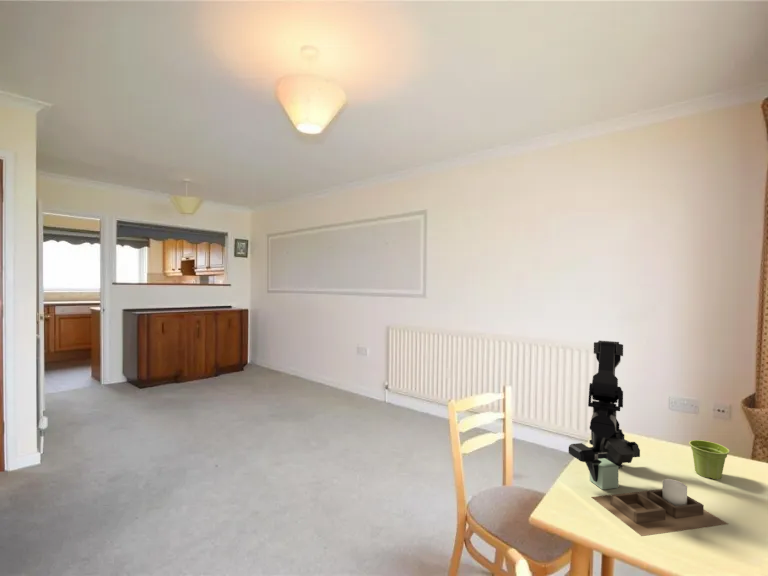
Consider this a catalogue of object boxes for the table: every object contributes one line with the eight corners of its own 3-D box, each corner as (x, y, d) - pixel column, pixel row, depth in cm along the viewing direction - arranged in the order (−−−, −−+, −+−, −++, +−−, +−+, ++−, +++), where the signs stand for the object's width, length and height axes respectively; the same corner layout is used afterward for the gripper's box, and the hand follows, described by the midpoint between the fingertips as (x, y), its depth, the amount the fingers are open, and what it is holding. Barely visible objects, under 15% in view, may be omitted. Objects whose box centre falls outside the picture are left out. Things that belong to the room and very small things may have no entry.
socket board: (591, 500, 103) (591, 487, 103) (667, 491, 108) (667, 479, 108) (641, 540, 88) (641, 524, 87) (728, 528, 92) (728, 513, 92)
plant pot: (737, 480, 114) (737, 450, 114) (714, 484, 112) (714, 454, 111) (703, 465, 123) (703, 438, 123) (681, 469, 121) (681, 441, 120)
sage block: (589, 480, 112) (589, 459, 111) (604, 478, 112) (605, 458, 112) (602, 489, 107) (602, 467, 107) (618, 487, 108) (618, 466, 107)
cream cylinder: (657, 502, 101) (657, 479, 100) (673, 500, 102) (673, 478, 101) (675, 514, 96) (675, 490, 96) (692, 512, 97) (692, 488, 96)
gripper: (595, 439, 100) (595, 499, 100) (657, 434, 103) (656, 492, 103) (567, 423, 111) (566, 477, 111) (624, 419, 114) (623, 472, 114)
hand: (603, 480), depth 110 cm, fingers closed on sage block, 5 cm apart
